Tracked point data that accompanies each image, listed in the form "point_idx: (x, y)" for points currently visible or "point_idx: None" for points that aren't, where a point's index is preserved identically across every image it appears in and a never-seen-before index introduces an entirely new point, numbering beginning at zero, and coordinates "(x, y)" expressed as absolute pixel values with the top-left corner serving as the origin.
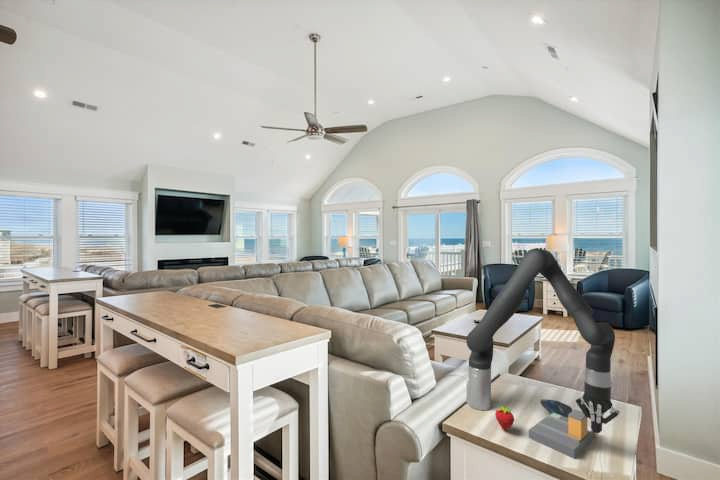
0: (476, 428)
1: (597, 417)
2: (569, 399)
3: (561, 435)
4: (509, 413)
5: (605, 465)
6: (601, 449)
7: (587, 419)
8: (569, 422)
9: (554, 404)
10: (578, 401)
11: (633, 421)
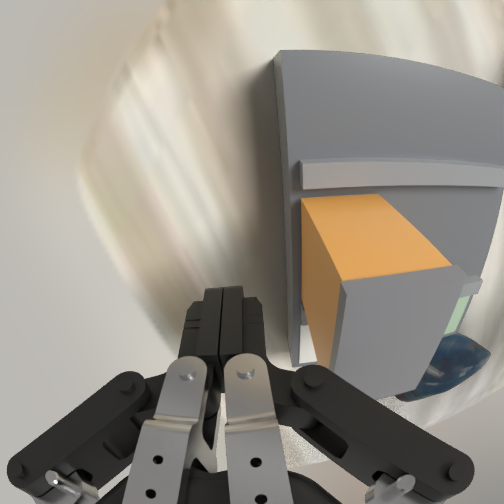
0: None
1: (191, 409)
2: None
3: (403, 158)
4: None
5: (143, 148)
6: (226, 270)
7: None
8: (418, 238)
9: (455, 370)
10: (445, 480)
11: None
